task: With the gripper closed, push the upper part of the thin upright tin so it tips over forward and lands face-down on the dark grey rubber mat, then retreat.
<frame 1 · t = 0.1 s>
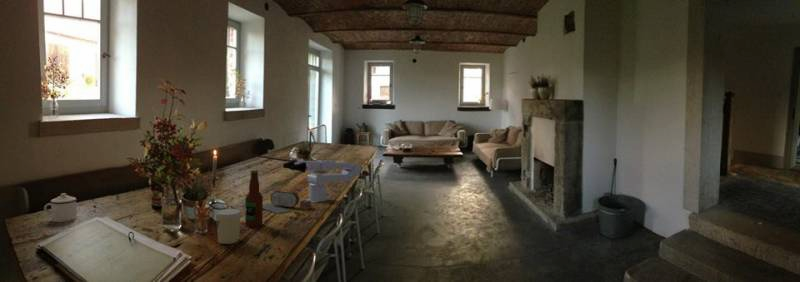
hand: (287, 166, 222), 22 cm above the table, tool horizontal, fingers open, 7 cm apart
bottle: (253, 225, 191), on the table
mat: (274, 209, 219), on the table
teacup with lid: (60, 219, 186), on the table
walnut block: (305, 208, 223), on the table
tin: (284, 206, 223), on the table, touching mat
coffee cup: (228, 241, 170), on the table
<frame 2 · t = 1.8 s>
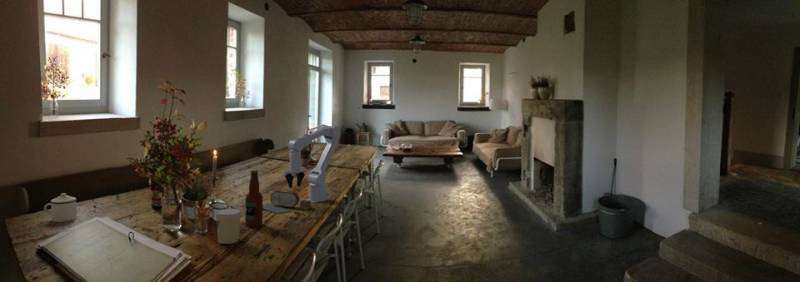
hand: (294, 187, 227), 10 cm above the table, tool pointing down, fingers open, 5 cm apart
nothing on the table moved.
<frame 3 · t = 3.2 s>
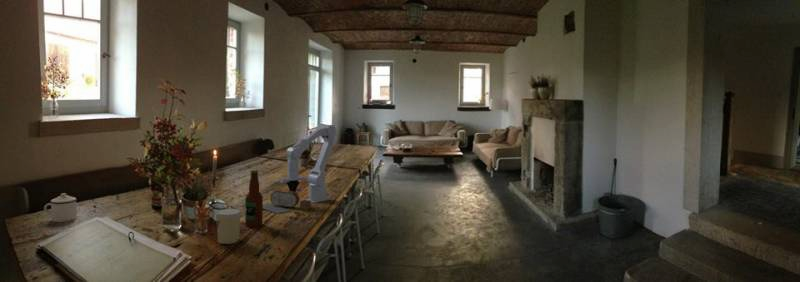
hand: (292, 194, 227), 6 cm above the table, tool pointing down, fingers closed
nothing on the table moved.
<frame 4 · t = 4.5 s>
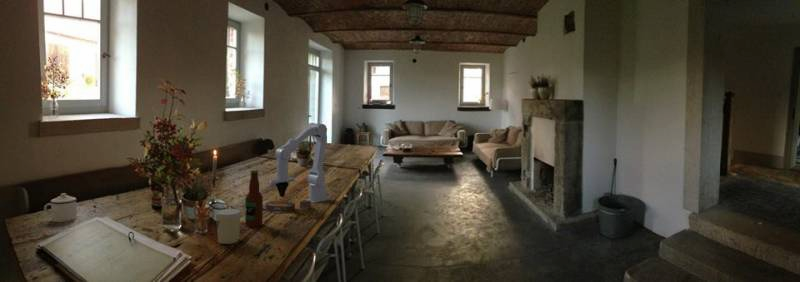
hand: (281, 196, 221), 6 cm above the table, tool pointing down, fingers closed
tin: (283, 204, 222), point 1 cm above the table, touching mat
everything else where it was.
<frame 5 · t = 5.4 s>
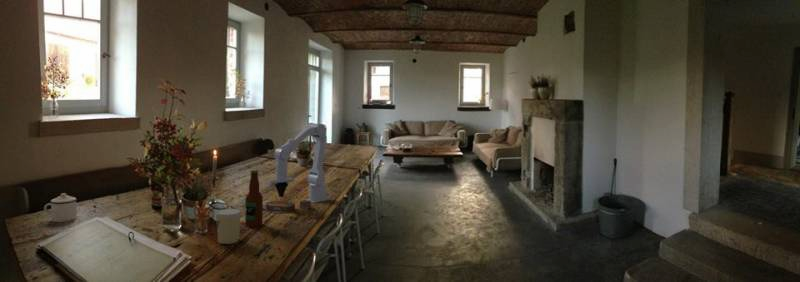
hand: (281, 196, 221), 6 cm above the table, tool pointing down, fingers closed
nothing on the table moved.
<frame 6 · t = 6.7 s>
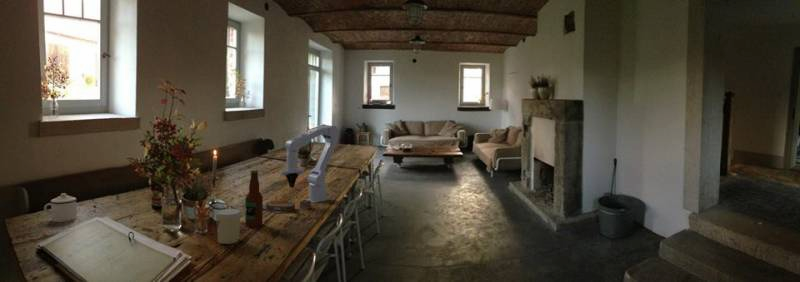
hand: (291, 187, 226), 10 cm above the table, tool pointing down, fingers closed
nothing on the table moved.
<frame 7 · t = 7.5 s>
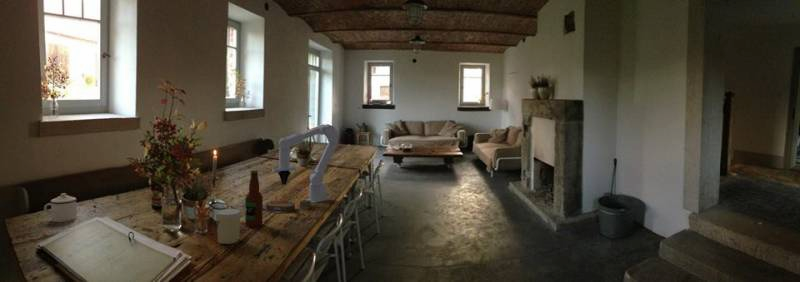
hand: (283, 184, 232), 10 cm above the table, tool pointing down, fingers closed
nothing on the table moved.
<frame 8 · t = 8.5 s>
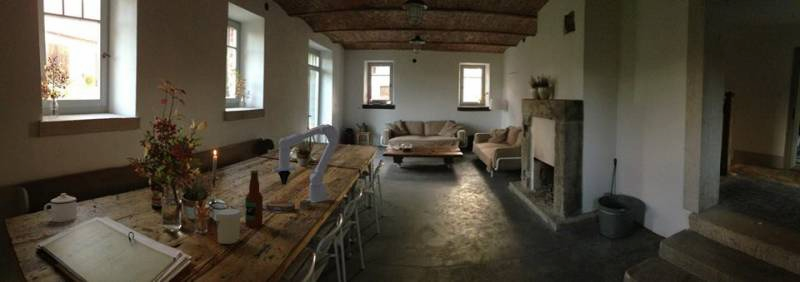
hand: (283, 184, 232), 10 cm above the table, tool pointing down, fingers closed
nothing on the table moved.
at the end: tin tilted 86°; tin inside the target area (4.3 cm from its centre), point 1.4 cm above the table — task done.
